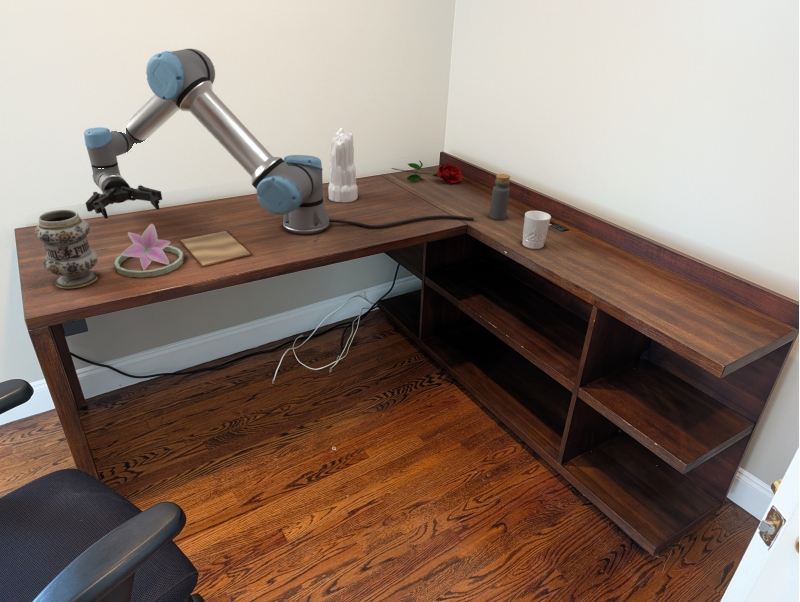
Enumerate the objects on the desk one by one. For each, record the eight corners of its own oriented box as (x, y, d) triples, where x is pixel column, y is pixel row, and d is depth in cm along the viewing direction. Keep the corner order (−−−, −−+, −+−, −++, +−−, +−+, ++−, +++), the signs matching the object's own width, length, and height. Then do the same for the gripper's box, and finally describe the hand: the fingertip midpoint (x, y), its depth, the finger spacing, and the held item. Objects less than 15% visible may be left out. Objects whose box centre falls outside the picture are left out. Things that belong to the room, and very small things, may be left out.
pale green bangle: (194, 253, 155) (193, 248, 154) (163, 280, 140) (161, 275, 139) (139, 247, 157) (138, 242, 156) (102, 273, 142) (100, 268, 141)
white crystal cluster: (352, 203, 195) (352, 134, 183) (325, 200, 197) (322, 132, 184) (360, 194, 205) (360, 128, 192) (333, 191, 206) (332, 125, 194)
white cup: (531, 251, 164) (536, 221, 159) (515, 242, 170) (519, 212, 165) (550, 247, 168) (556, 217, 163) (534, 238, 174) (539, 209, 169)
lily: (119, 273, 145) (121, 251, 138) (125, 242, 152) (127, 219, 145) (166, 280, 150) (170, 259, 143) (170, 249, 157) (174, 227, 150)
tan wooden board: (180, 241, 162) (180, 240, 161) (225, 232, 169) (225, 230, 169) (203, 266, 148) (202, 264, 148) (250, 255, 155) (250, 253, 155)
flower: (393, 154, 213) (466, 162, 217) (391, 159, 223) (461, 166, 226) (391, 177, 214) (464, 184, 217) (389, 181, 223) (459, 188, 226)
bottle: (487, 218, 188) (492, 176, 180) (491, 212, 192) (496, 172, 185) (503, 221, 186) (509, 179, 178) (507, 215, 191) (513, 174, 183)
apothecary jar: (107, 283, 138) (89, 218, 129) (53, 295, 131) (30, 228, 122) (98, 265, 146) (81, 203, 137) (48, 276, 140) (26, 211, 131)
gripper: (159, 193, 172) (179, 213, 157) (72, 206, 159) (85, 230, 144) (155, 170, 168) (175, 189, 154) (65, 182, 155) (78, 204, 140)
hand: (132, 209), depth 149 cm, fingers open, 13 cm apart
